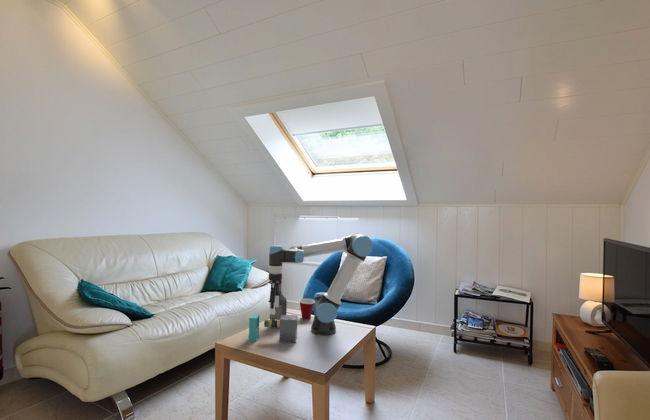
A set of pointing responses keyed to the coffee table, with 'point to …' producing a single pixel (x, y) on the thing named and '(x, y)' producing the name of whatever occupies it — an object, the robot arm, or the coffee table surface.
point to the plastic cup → (306, 307)
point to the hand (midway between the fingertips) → (274, 310)
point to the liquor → (280, 306)
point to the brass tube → (272, 323)
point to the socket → (253, 327)
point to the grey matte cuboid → (288, 328)
